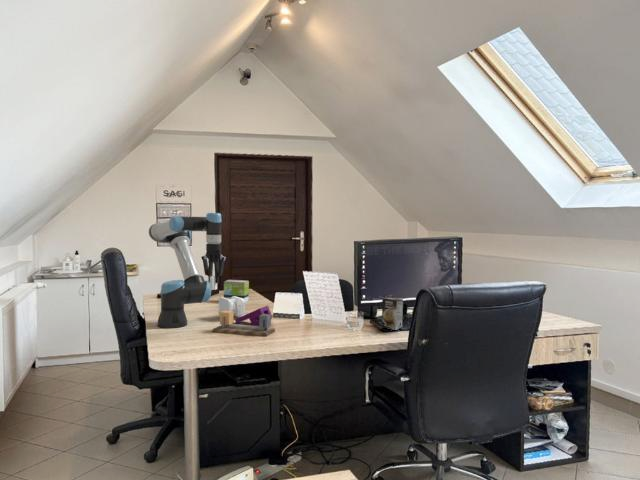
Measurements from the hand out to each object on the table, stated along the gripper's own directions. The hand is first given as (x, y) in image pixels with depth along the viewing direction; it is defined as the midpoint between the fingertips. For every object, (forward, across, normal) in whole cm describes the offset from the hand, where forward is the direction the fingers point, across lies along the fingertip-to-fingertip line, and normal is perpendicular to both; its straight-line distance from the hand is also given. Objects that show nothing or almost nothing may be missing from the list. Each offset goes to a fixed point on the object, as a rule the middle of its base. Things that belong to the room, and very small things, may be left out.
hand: (213, 289), depth 248 cm
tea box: (+21, -26, +82) cm, 89 cm away
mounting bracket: (+21, +13, +18) cm, 31 cm away
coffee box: (+21, +88, +30) cm, 95 cm away
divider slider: (+18, +7, -1) cm, 20 cm away
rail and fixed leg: (+19, +18, -1) cm, 26 cm away
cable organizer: (+21, -4, +30) cm, 37 cm away
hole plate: (+20, +18, -1) cm, 27 cm away
